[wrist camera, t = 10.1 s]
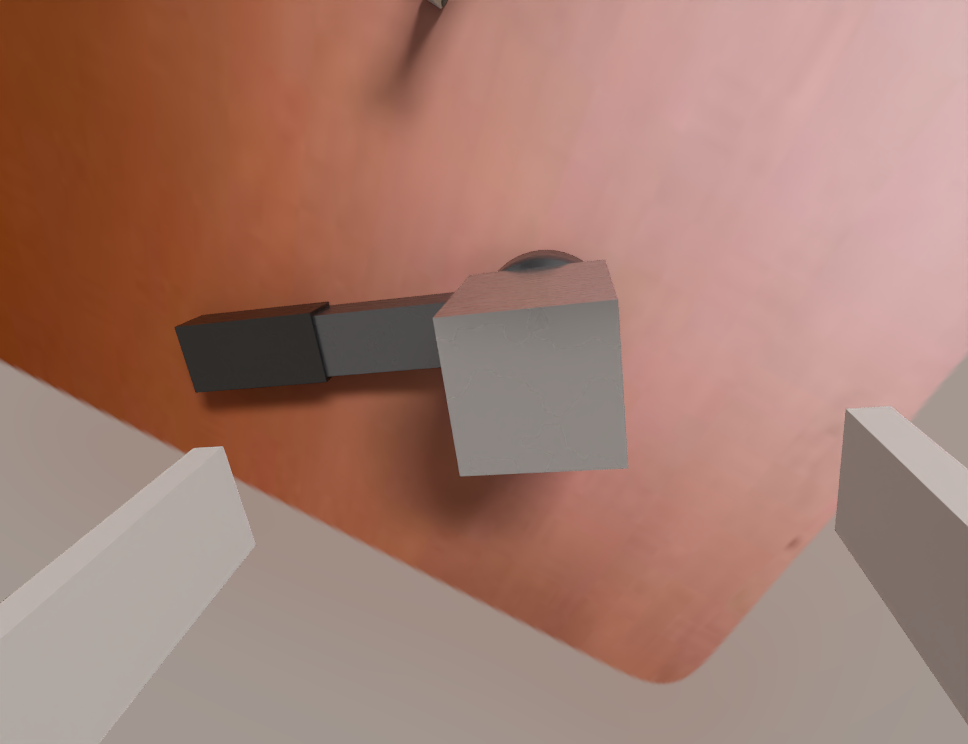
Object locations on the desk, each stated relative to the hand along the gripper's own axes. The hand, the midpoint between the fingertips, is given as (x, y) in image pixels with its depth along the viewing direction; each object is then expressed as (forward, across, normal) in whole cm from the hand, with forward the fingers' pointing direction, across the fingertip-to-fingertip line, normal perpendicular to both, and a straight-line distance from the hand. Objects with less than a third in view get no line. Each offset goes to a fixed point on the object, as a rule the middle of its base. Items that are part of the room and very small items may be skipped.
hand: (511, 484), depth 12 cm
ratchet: (+16, -7, -1) cm, 17 cm away
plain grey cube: (+13, 0, -1) cm, 13 cm away
